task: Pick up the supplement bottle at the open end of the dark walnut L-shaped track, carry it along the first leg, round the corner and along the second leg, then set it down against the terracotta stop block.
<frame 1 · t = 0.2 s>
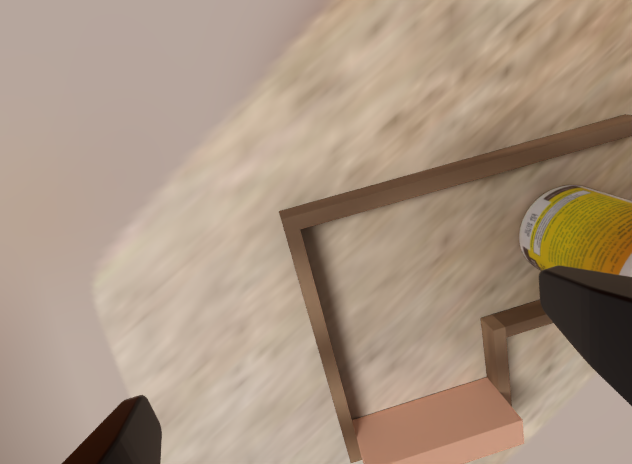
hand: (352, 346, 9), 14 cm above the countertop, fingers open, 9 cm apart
walnut track: (460, 269, 26), on the countertop
stop block: (421, 409, 29), on the countertop
supplement bottle: (553, 225, 26), on the countertop
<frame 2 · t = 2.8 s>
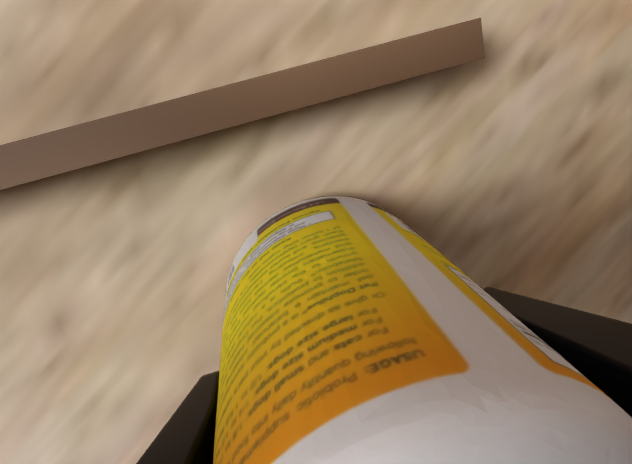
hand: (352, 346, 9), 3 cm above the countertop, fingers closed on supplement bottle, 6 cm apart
walnut track: (115, 381, 12), on the countertop
supplement bottle: (325, 281, 12), on the countertop, touching gripper
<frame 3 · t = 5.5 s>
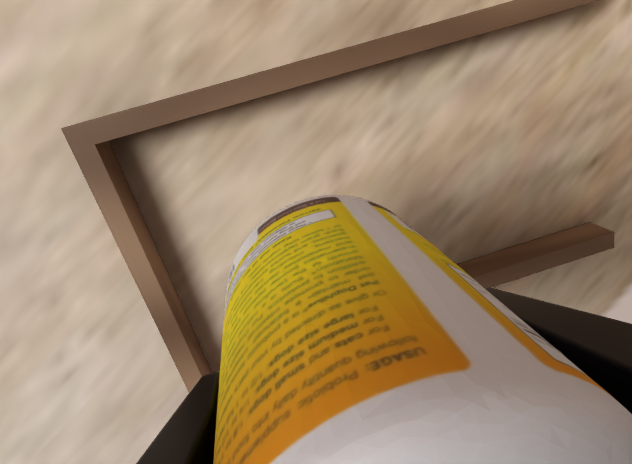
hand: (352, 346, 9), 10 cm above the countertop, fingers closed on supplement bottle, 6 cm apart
walnut track: (363, 213, 19), on the countertop
supplement bottle: (325, 280, 12), point 7 cm above the countertop, touching gripper
when the fingers open (3 cm above the countertop, at t = 8.3 s): supplement bottle stays where it is, on the countertop.
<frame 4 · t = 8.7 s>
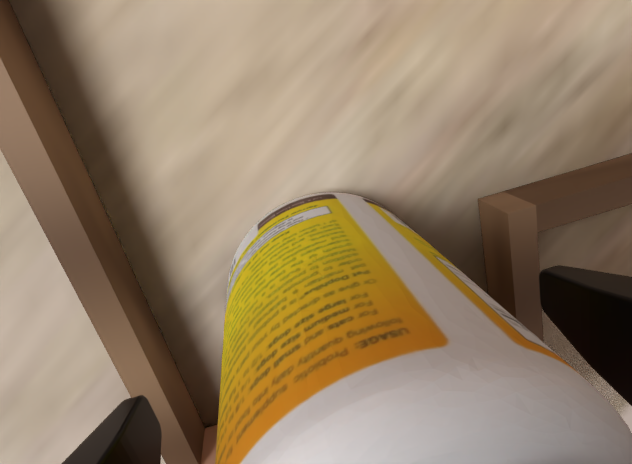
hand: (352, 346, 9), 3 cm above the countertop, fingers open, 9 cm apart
walnut track: (426, 66, 11), on the countertop
stop block: (358, 404, 14), on the countertop
supplement bottle: (322, 275, 13), on the countertop
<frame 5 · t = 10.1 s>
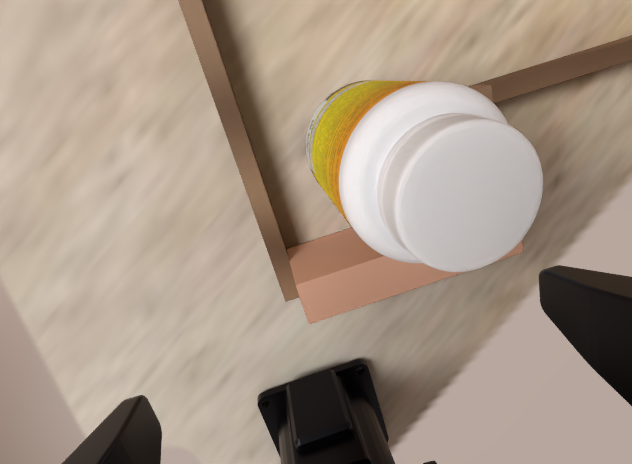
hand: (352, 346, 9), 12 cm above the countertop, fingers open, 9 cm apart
walnut track: (423, 2, 18), on the countertop
stop block: (384, 235, 22), on the countertop
supplement bottle: (361, 142, 20), on the countertop
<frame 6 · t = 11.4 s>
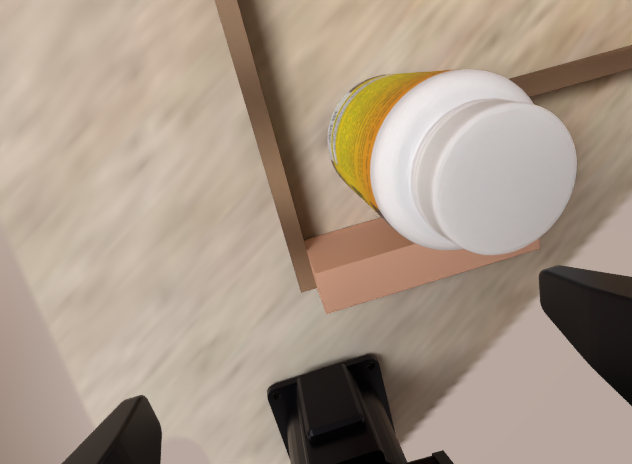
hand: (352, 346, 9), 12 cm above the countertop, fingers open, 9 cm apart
walnut track: (447, 0, 18), on the countertop
stop block: (399, 230, 22), on the countertop
supplement bottle: (380, 136, 20), on the countertop
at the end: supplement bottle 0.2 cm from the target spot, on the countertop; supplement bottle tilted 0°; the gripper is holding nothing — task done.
